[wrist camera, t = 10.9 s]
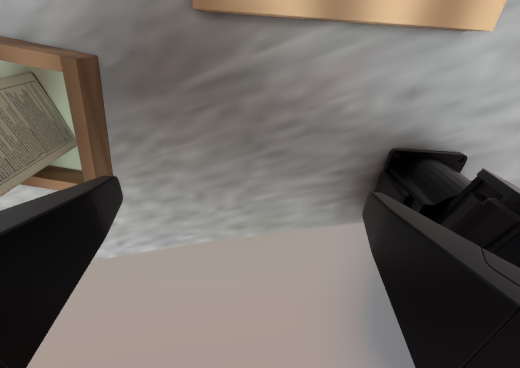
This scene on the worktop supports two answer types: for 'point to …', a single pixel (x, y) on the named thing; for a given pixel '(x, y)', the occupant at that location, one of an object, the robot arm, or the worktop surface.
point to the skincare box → (28, 130)
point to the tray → (65, 108)
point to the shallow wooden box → (372, 11)
